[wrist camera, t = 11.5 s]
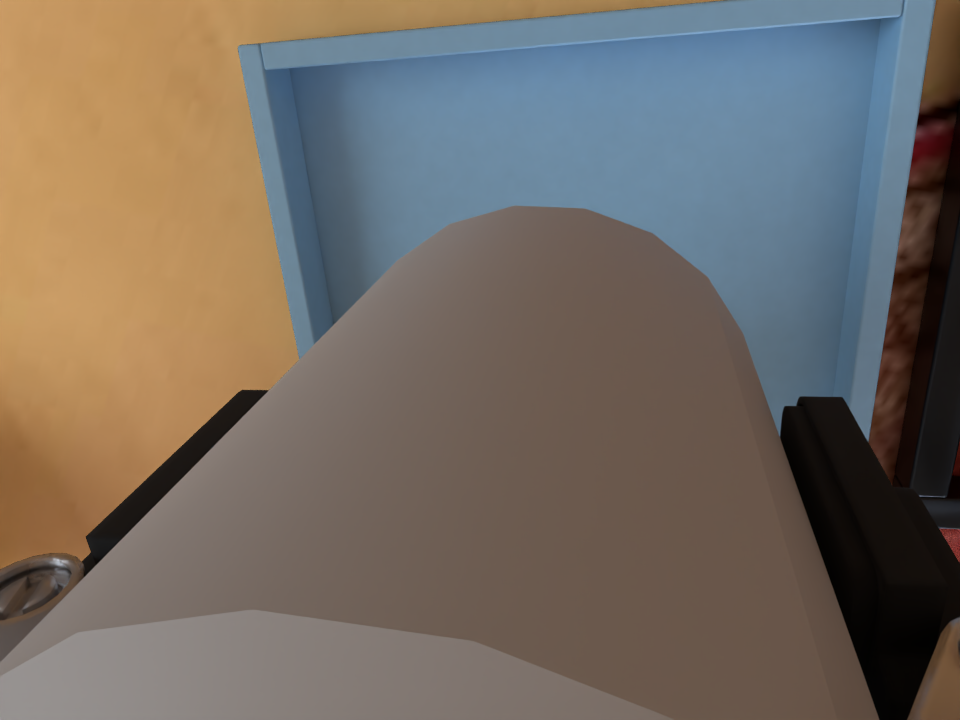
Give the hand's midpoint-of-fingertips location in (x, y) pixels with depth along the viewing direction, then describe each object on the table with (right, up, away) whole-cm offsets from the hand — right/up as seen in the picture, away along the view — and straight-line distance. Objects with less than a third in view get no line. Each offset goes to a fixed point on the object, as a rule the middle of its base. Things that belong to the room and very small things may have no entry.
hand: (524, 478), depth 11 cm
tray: (+2, +4, +9) cm, 10 cm away
